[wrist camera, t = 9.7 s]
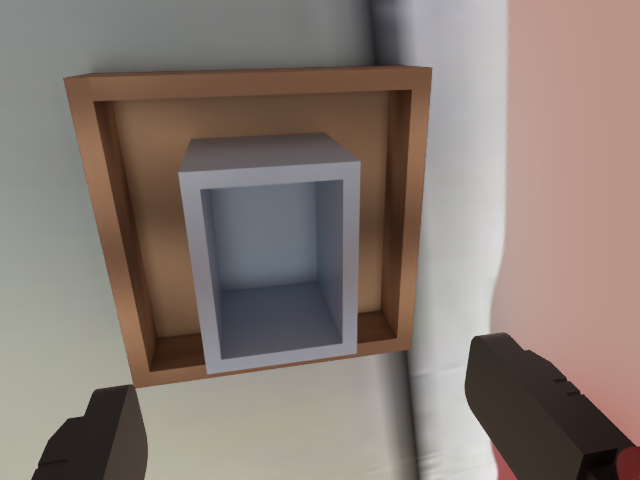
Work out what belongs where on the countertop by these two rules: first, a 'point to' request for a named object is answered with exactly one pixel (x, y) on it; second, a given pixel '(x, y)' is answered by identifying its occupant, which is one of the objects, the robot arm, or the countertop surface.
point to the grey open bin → (273, 247)
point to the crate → (234, 121)
